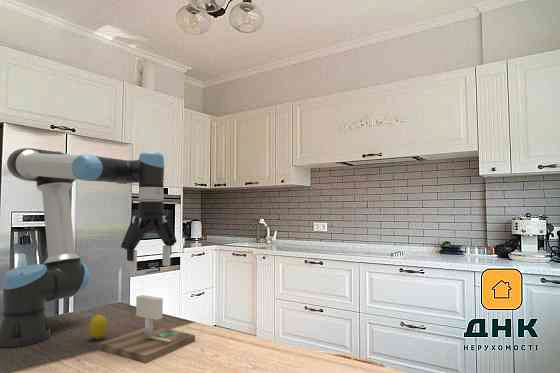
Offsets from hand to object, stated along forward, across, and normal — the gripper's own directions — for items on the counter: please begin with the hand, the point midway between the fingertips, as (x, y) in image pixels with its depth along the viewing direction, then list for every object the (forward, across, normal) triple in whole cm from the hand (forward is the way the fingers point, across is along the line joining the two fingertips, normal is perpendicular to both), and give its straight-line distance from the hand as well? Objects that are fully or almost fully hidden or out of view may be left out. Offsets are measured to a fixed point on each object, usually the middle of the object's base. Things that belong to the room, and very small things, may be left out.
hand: (150, 268), depth 122 cm
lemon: (+24, -4, +19) cm, 31 cm away
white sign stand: (+21, 0, -2) cm, 22 cm away
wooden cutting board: (+24, 0, 0) cm, 24 cm away
